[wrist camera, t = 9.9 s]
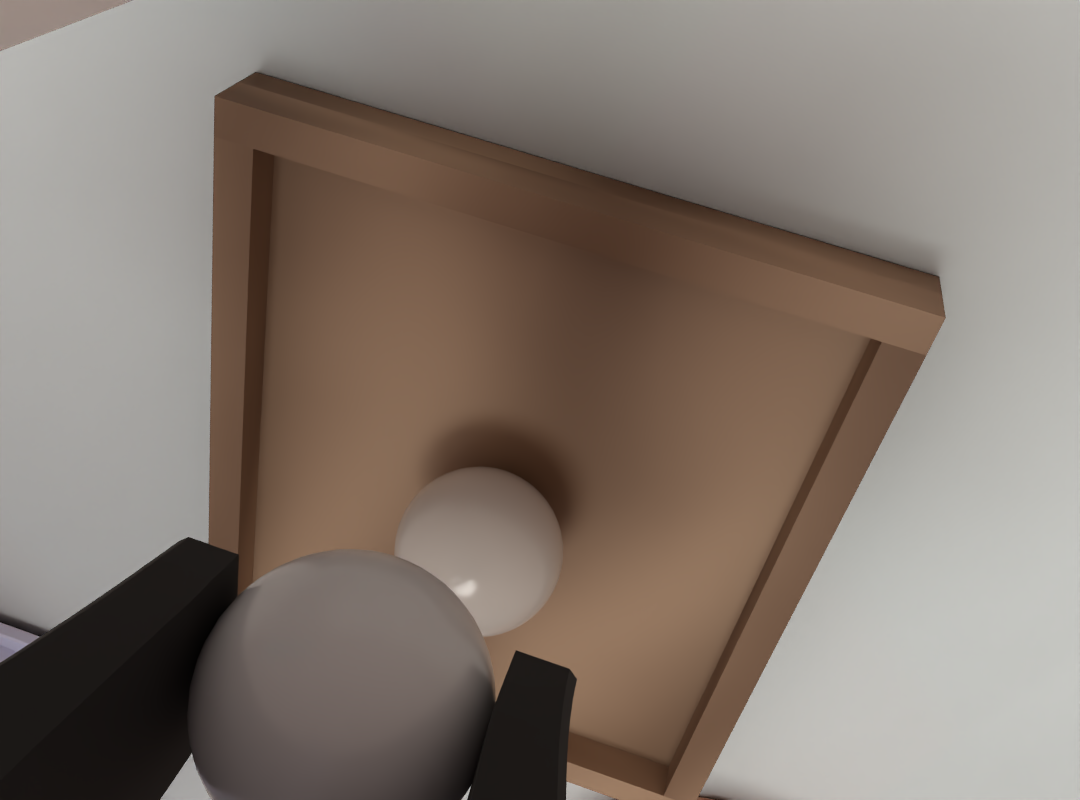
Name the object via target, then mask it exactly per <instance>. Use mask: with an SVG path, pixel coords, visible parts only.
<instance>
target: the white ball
mask: <svg viewBox="0 0 1080 800" xmlns="http://www.w3.org/2000/svg"><path fill="white" fill-rule="evenodd" d="M394 556H397V557H400V558H402V559H405V560H407V561H410V562H412V563H414V564H416V565H418V566H420V567H422V568H423V569H425V570H426V571H428V572H430V573H431V574H433V575H434V576H435V577H437V578H438V579H439V580H441V581H442V582H443V583H444V584H446V585H447V586H448V587H449V588H450V589H451V590H452V591H453V592H454V593H455V594H456V595H457V596H458V598H459V599H460V600H461V601H462V602H463V604H464V605H465V606H466V608H467V609H468V610H469V612H470V613H471V615H472V616H473V618H474V619H475V621H476V623H477V625H478V627H479V629H480V631H481V633H482V635H483V637H488V636H495V635H499V634H503V633H505V632H508V631H511V630H513V629H515V628H517V627H519V626H521V625H522V624H524V623H525V622H527V621H528V620H530V619H531V618H532V617H533V616H535V615H536V614H537V613H538V612H539V611H540V609H541V608H542V607H543V606H544V605H545V604H546V602H547V601H548V599H549V598H550V596H551V595H552V593H553V591H554V589H555V587H556V584H557V582H558V579H559V576H560V572H561V568H562V563H563V541H562V534H561V530H560V526H559V523H558V520H557V518H556V516H555V513H554V511H553V509H552V508H551V506H550V505H549V503H548V502H547V500H546V499H545V498H544V497H543V495H542V494H541V493H540V492H539V491H538V490H537V489H536V488H535V487H534V486H532V485H531V484H530V483H529V482H527V481H526V480H524V479H522V478H521V477H519V476H517V475H515V474H513V473H510V472H508V471H505V470H501V469H498V468H492V467H481V466H480V467H467V468H462V469H457V470H454V471H451V472H449V473H446V474H444V475H442V476H440V477H438V478H436V479H435V480H433V481H432V482H430V483H429V484H427V485H426V486H425V487H424V488H423V489H422V490H421V491H420V492H419V493H418V494H417V495H416V496H415V497H414V498H413V500H412V501H411V502H410V504H409V505H408V507H407V508H406V510H405V512H404V514H403V516H402V518H401V521H400V523H399V526H398V530H397V534H396V538H395V547H394Z"/></svg>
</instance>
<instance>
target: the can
mask: <svg viewBox="0 0 1080 800" xmlns="http://www.w3.org/2000/svg"><path fill="white" fill-rule="evenodd" d="M130 1H132V0H0V51H1V50H4V49H7V48H9V47H12V46H14V45H17V44H20V43H22V42H25V41H28V40H30V39H33V38H35V37H38V36H41V35H43V34H46V33H48V32H51V31H54V30H56V29H59V28H62V27H64V26H67V25H69V24H72V23H75V22H77V21H80V20H83V19H85V18H88V17H90V16H93V15H96V14H98V13H101V12H103V11H106V10H109V9H111V8H114V7H117V6H119V5H122V4H124V3H127V2H130Z"/></svg>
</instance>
